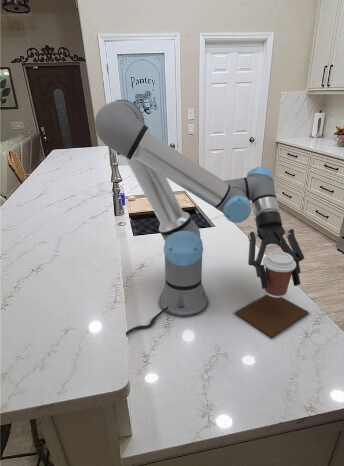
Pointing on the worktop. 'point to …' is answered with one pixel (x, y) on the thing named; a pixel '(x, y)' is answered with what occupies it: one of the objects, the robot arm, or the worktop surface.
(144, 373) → the worktop surface
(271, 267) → the coffee cup
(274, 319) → the brown mat
